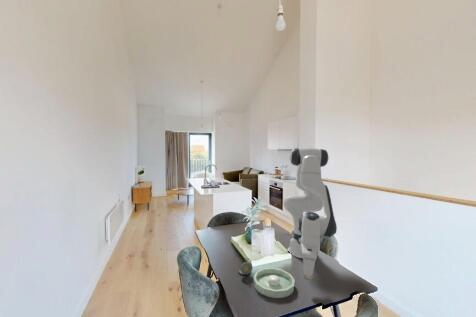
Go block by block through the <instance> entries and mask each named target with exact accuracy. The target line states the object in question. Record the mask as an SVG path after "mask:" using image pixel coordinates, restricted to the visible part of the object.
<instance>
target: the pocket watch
mask: <svg viewBox="0 0 476 317" xmlns="http://www.w3.org/2000/svg"><path fill="white" fill-rule="evenodd" d="M249 259H250V258H249V257H245V258H244V260H245V262H243V263H242V264H241V265H240V268H238V273H239V274H240V275H244V276H246V275H249V274H250V273H251V272H252V271H253V265H252V263H251V262H250V261H249Z"/></svg>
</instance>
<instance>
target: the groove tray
mask: <svg viewBox="0 0 476 317" xmlns="http://www.w3.org/2000/svg"><path fill="white" fill-rule="evenodd" d="M252 279H253V287H254V288H255V290H256V292H258V293H259V294H261V295H262V296H265V297H267V298H272V299H283V298H288V297H290V296H291V295H292V294H293V293H294V291H295V285H296V284H295V283H296V282H295V278H294V277H293V276H292V274H291V273H290V272H288V271H285V270H284V269H281V268H276V267H265V268H264V267H263V268H261V269H259V270H257V271H255V273H254V275H253V278H252Z"/></svg>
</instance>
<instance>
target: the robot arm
mask: <svg viewBox="0 0 476 317" xmlns="http://www.w3.org/2000/svg"><path fill="white" fill-rule="evenodd" d="M329 159H330V158H329V154H328V151H327V150H326V149H322V148H313V147H309V148H307V147H306V148H303V147H302V148H299V147H297V148H296V147H295V148H293V149H291V152H290V153H289V161H290V163H291V165H293V166H295V167H296V166H297V169H296V178H295V179H296V181H295V185H296V187H297V189H299V190H301V191H302V192H303V194H292V195H287V196H286V197H285V198H284V200H283V207H284V209H285V210H286V212H288V213H290V215H291V217H292V219H293V221H292V222H293V231H292V238H290V240H289V242H290V243H289V247H288V248H287V250H288V251H289V252H291V253H292V254H291V253H290V254H291V255H292V256H293V257H296V258H298V259H302V260H303V275H304V274H305V275H307V278H309V279H310V277H311V276H312V275H313V271H315V263H316V260H317V258H318V255H319V253H320V250H321V241H320V240H321V239H320V237H321V236H322V237H328V238H331V237H333V236H334V235H336V234H337V231H338V226H337V222H336V219H335V214H334V210H333V205H332V198H331V194H330V191H329V188H328V186H327V185H326V184H325V183H324V181H323V180H322V168H323V167H325V166H326V165H327V164H328V162H329ZM322 209H323V212H324V215H319V214H318V213H316V212H320V211H322ZM287 250H286V251H287ZM289 252H288V253H289ZM313 276H314V275H313Z"/></svg>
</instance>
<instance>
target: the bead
mask: <svg viewBox="0 0 476 317" xmlns="http://www.w3.org/2000/svg"><path fill="white" fill-rule="evenodd" d="M314 271H315V270H314ZM314 271H313V275H312V276H311V277H310V279H309V278H307V275H305V274H304V273H303V277H304V279H305V280H307V281H312V280H314V275H315V274H314Z"/></svg>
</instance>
